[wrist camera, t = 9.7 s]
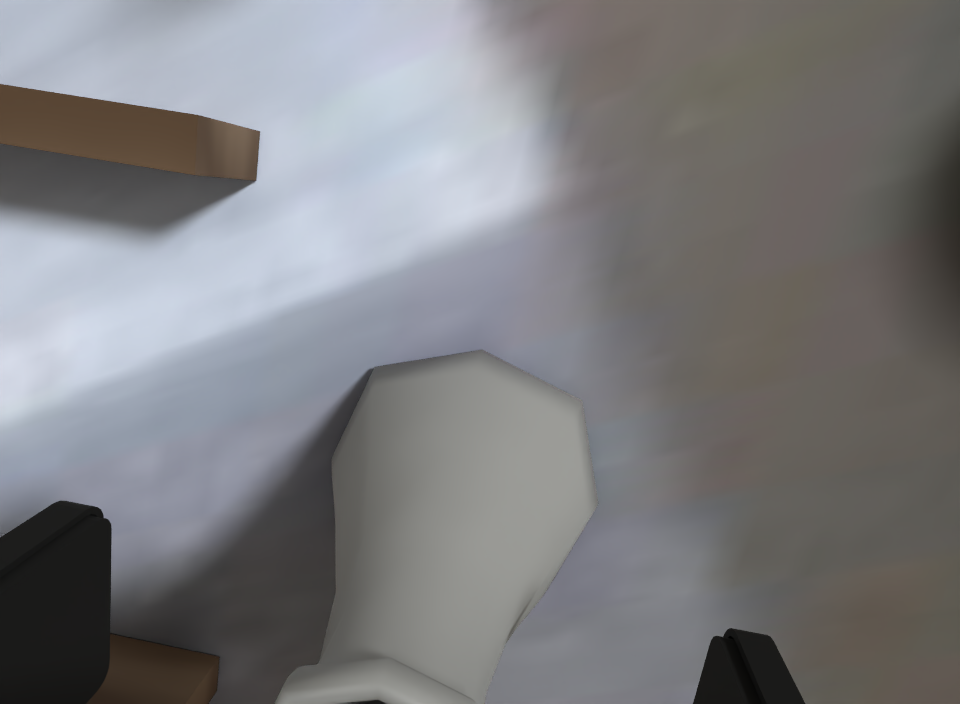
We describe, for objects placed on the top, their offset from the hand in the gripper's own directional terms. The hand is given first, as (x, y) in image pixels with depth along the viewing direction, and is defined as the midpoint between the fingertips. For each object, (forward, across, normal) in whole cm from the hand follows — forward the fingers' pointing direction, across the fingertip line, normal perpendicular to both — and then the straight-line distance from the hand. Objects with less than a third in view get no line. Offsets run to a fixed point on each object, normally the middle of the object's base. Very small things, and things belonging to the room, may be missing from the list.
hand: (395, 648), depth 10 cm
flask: (+8, 0, +1) cm, 8 cm away
